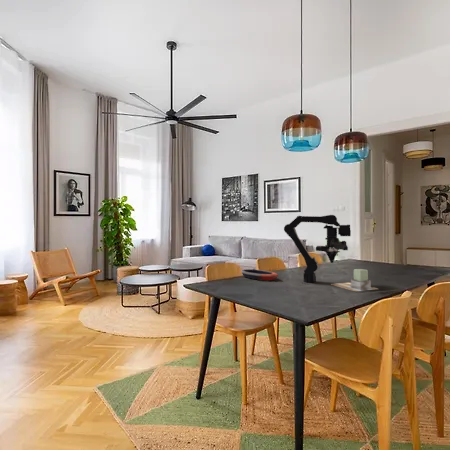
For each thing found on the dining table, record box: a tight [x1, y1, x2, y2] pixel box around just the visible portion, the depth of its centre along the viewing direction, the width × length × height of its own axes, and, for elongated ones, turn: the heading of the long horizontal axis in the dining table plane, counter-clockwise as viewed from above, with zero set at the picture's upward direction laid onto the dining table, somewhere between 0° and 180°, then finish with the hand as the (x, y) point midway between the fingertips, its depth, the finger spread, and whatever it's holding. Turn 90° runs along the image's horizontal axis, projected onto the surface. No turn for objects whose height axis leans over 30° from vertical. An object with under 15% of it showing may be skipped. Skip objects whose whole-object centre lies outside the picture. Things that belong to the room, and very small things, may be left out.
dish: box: [240, 268, 279, 281], centre depth 210 cm, size 16×31×5 cm, turn 38°
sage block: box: [353, 268, 369, 281], centre depth 171 cm, size 5×5×6 cm
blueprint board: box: [330, 278, 378, 294], centre depth 176 cm, size 16×20×6 cm
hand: (331, 262), depth 186 cm, fingers closed
